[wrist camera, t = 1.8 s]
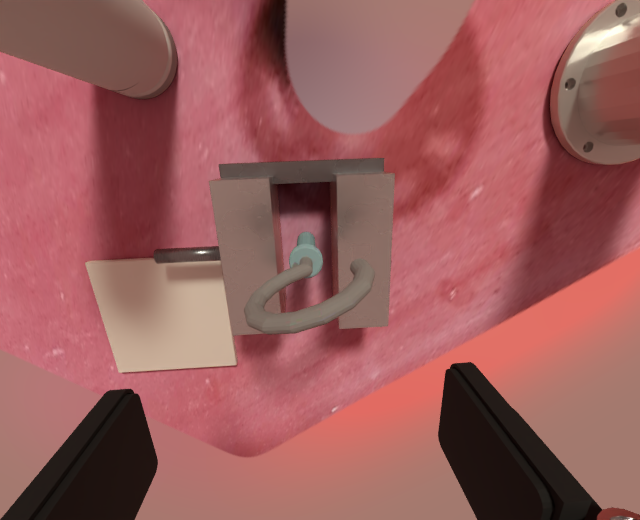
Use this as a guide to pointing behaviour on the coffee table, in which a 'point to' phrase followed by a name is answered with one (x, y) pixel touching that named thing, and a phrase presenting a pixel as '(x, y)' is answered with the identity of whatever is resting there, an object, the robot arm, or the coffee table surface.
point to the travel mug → (93, 42)
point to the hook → (307, 265)
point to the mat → (164, 313)
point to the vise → (266, 242)
